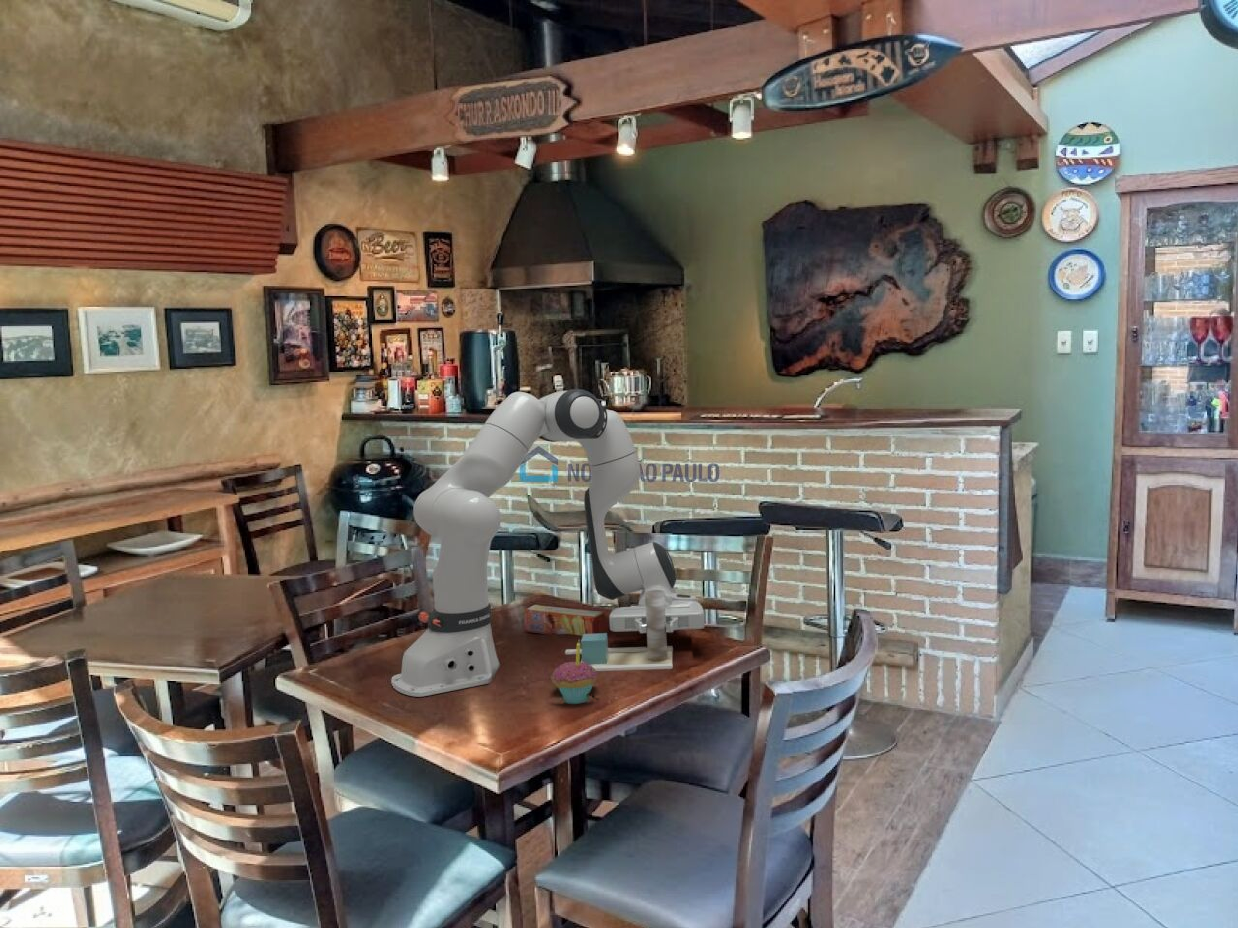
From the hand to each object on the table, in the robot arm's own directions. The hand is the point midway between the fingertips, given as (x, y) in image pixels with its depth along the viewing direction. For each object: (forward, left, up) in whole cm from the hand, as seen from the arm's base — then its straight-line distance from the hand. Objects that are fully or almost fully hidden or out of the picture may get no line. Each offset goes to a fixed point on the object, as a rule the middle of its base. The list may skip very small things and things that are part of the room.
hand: (656, 629), depth 187 cm
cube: (-9, +9, -7) cm, 15 cm away
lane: (-6, +6, -8) cm, 11 cm away
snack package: (-1, +33, -9) cm, 35 cm away
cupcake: (-23, -3, -8) cm, 24 cm away
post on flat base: (-4, +5, -8) cm, 10 cm away
